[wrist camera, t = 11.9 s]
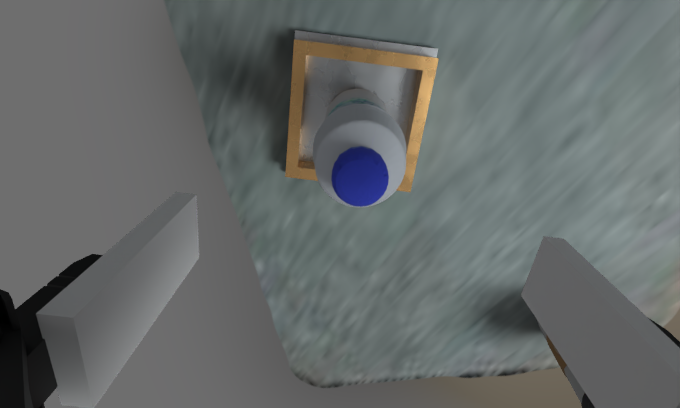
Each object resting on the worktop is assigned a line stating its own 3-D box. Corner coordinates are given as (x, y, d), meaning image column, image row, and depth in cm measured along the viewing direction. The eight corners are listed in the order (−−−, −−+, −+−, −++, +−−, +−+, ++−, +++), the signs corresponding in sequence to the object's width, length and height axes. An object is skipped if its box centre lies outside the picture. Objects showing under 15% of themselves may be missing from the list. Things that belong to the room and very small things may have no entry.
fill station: (296, 30, 37) (291, 29, 33) (435, 48, 37) (444, 49, 34) (287, 172, 43) (282, 183, 39) (406, 186, 43) (411, 199, 40)
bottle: (342, 158, 41) (334, 253, 22) (313, 102, 38) (279, 158, 20) (398, 131, 39) (439, 210, 21) (372, 71, 37) (393, 102, 19)
